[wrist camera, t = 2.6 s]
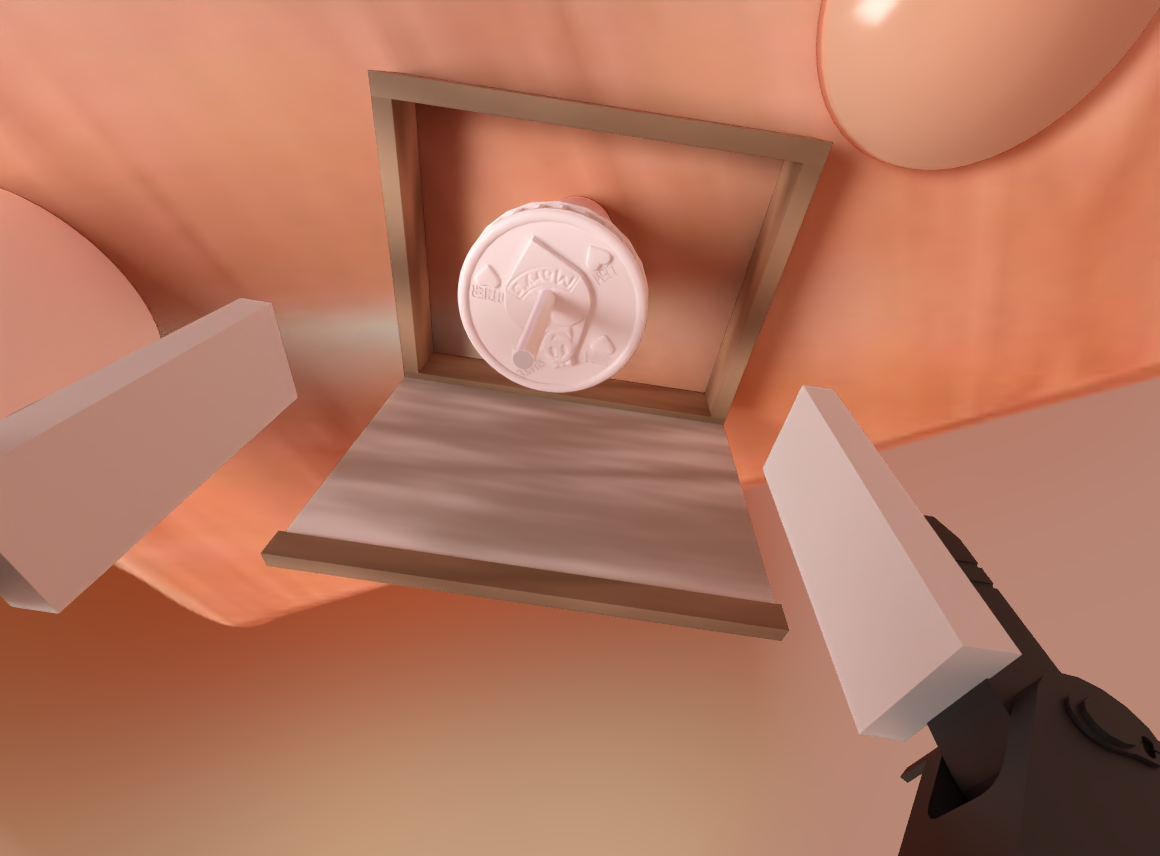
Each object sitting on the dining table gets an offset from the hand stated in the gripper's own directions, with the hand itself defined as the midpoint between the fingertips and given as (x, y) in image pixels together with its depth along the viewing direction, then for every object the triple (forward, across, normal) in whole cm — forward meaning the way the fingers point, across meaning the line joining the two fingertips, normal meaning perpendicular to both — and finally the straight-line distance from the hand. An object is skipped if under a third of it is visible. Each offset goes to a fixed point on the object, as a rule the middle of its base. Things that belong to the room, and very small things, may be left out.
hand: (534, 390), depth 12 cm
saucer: (+14, +13, +11) cm, 22 cm away
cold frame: (+14, 0, -1) cm, 14 cm away
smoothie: (+14, 0, 0) cm, 14 cm away
